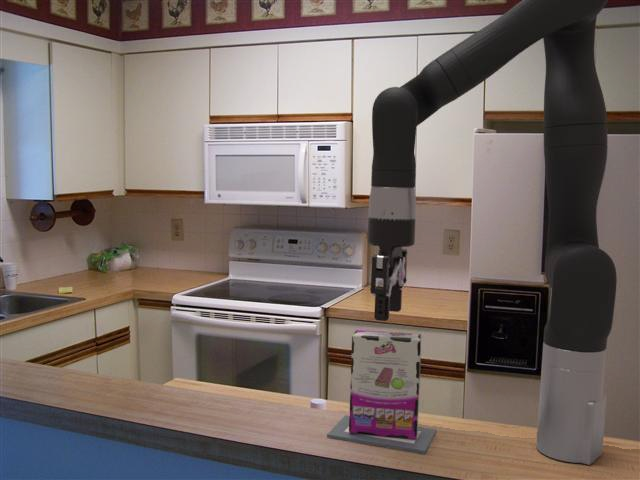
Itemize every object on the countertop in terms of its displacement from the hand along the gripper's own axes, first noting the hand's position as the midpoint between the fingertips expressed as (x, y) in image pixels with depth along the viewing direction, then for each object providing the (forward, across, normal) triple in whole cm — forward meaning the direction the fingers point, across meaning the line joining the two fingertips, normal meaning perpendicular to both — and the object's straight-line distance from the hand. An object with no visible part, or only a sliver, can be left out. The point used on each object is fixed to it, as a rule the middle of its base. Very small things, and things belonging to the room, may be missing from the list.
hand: (388, 315), depth 110 cm
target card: (+20, 0, 0) cm, 20 cm away
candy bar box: (+20, 0, 0) cm, 20 cm away
